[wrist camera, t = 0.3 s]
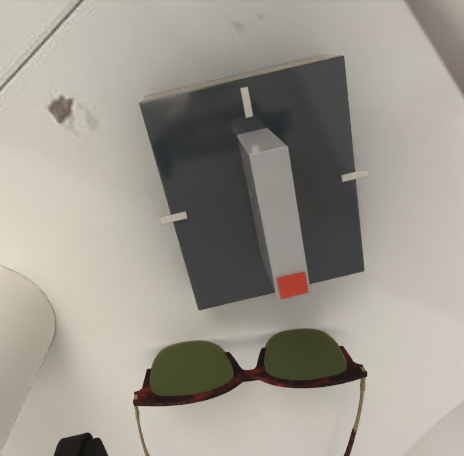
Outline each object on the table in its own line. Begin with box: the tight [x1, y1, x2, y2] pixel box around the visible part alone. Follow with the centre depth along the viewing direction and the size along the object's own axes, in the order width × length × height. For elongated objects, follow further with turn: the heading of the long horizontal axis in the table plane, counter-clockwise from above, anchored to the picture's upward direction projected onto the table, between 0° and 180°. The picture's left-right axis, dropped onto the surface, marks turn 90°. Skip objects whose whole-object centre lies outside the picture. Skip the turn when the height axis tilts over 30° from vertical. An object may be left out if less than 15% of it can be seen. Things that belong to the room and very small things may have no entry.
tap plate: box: [139, 55, 368, 310], centre depth 24 cm, size 12×11×3 cm
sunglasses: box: [133, 329, 367, 456], centre depth 31 cm, size 14×15×5 cm
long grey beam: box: [237, 128, 311, 300], centre depth 20 cm, size 7×2×5 cm, turn 12°
